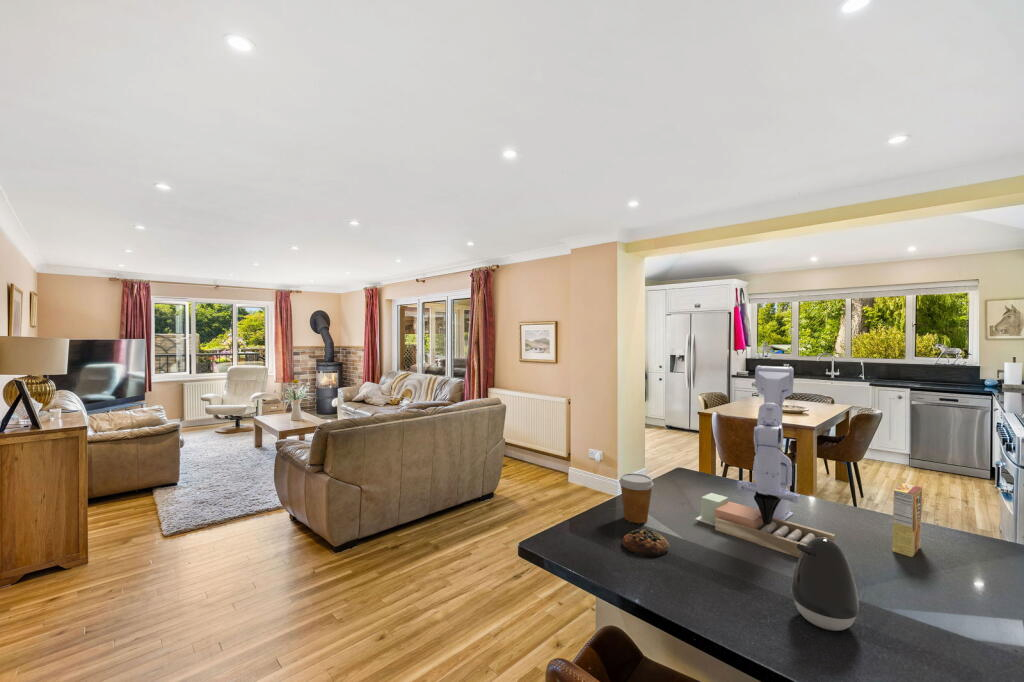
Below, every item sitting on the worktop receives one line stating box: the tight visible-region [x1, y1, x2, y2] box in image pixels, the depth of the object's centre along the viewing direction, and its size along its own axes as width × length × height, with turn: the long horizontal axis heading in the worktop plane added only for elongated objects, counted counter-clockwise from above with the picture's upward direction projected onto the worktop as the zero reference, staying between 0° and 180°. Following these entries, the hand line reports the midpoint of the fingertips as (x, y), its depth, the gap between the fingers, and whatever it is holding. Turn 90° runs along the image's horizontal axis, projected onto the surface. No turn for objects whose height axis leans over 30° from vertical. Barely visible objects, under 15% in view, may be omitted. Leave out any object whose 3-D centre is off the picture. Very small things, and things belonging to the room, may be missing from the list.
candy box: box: [891, 482, 923, 558], centre depth 112 cm, size 9×4×15 cm, turn 129°
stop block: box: [700, 492, 729, 522], centre depth 130 cm, size 6×5×6 cm
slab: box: [715, 501, 763, 529], centre depth 124 cm, size 9×10×2 cm
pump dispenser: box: [790, 537, 860, 631], centre depth 83 cm, size 10×10×15 cm
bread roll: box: [622, 528, 670, 558], centre depth 112 cm, size 11×11×5 cm
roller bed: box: [694, 515, 836, 559], centre depth 120 cm, size 13×31×3 cm, turn 41°
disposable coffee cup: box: [618, 472, 654, 524], centre depth 129 cm, size 10×10×12 cm
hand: (767, 523), depth 118 cm, fingers closed
